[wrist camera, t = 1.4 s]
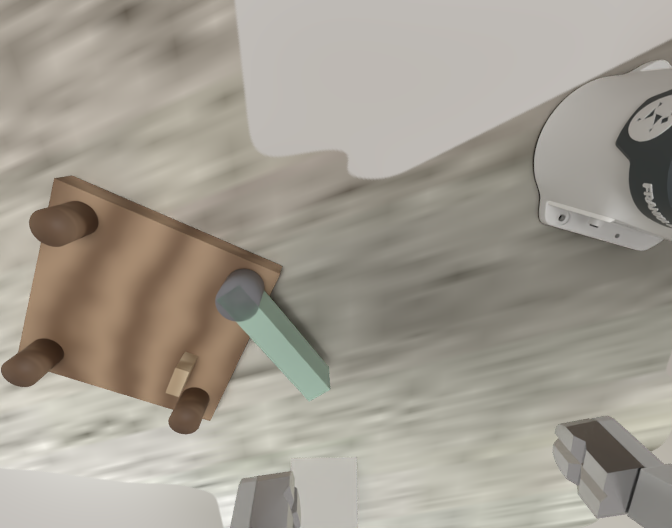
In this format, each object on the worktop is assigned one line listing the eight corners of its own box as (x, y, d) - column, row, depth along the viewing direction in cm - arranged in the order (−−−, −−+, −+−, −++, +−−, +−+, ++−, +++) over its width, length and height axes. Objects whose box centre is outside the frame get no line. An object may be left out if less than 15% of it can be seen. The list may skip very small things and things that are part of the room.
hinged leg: (217, 282, 37) (206, 298, 33) (247, 261, 36) (240, 275, 32) (305, 380, 43) (304, 404, 39) (333, 364, 42) (335, 386, 38)
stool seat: (282, 266, 40) (276, 289, 34) (215, 406, 47) (200, 446, 41) (71, 175, 35) (20, 183, 28) (32, 349, 42) (-15, 385, 36)
